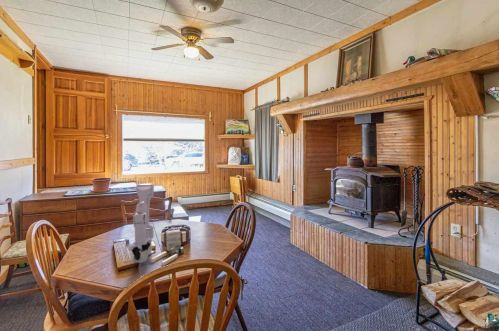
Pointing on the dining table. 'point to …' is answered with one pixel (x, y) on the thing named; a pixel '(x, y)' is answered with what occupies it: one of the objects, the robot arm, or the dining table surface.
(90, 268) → the dining table surface
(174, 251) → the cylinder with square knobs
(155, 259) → the guide rails
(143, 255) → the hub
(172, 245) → the ink box
